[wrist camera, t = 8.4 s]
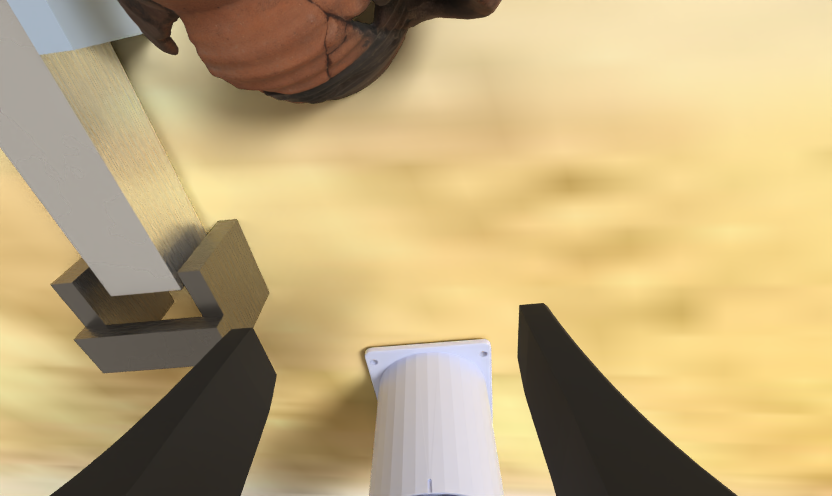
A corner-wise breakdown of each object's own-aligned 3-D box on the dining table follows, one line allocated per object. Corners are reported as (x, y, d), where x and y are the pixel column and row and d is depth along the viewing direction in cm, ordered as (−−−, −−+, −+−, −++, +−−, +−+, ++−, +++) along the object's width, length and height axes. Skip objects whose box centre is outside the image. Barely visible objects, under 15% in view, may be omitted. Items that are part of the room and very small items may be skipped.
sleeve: (269, 293, 23) (237, 362, 19) (158, 302, 24) (103, 373, 19) (236, 219, 20) (190, 282, 16) (111, 232, 21) (35, 297, 17)
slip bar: (213, 247, 21) (181, 289, 18) (151, 253, 21) (110, 296, 18) (70, -38, 14) (-18, -40, 11) (-19, -24, 14) (-126, -22, 11)
